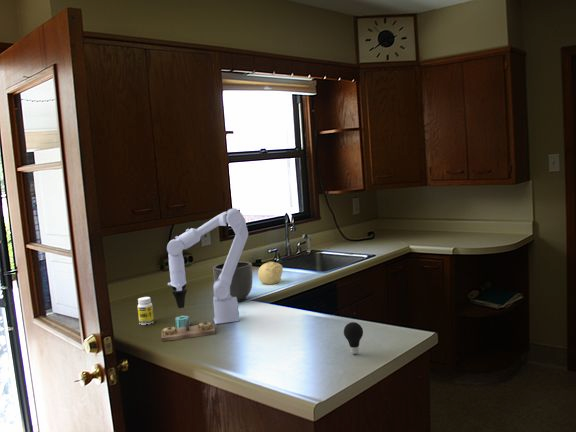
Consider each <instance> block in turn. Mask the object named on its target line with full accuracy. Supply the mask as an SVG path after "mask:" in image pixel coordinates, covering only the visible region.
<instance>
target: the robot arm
mask: <svg viewBox="0 0 576 432" xmlns="http://www.w3.org/2000/svg"><path fill="white" fill-rule="evenodd" d="M227 225H229V226H230V227H231V228H232V230H233V232H234V234H235V236H234V238H233V241H232V243H231V246H230V249H229V252H228V253H227V256H226V259H225V261H224V263H225V264H224V267H223V269H222V272H221V274H220V276H219V278H218V280H217V281H215V282H213V285H212V288H213V289H212V290H213V295H214V296H213V297H212V302H213V312H214V317H213V322H214V324H215V325H220V324H227V323H232V322H239V321H240V320H241V319H240V312H239V302H237V297H232V296H231V295H230V285H231V282H232V277H233V275H234V272H235V269H236V267H237V264H238V262H240V261H239V260H240V258H241V256H242V253H243V251H244V247H245V245H246V242H247V240H248V237H249V231H248V226H247V223H246V219H245V217H244V216H243V213H242V212H241V211H239V209H237V208H229V209H227V211H223V212H221V213H220V214H218V215H216V216H214V217H213V218H211V219H210V220H209V221H207V222H204V223H203V224H202V225H201V226H199V227H197V228H192V227H191V228H190V229H189V228H187V229H185V232H183V233H182V234H180V235H179V236H178V235H176V236H174V238H175V239H174V238H173V239H171V240H169V242H168V243H167V246H166V251H167V253H168V254H167V255H168V256H167V257H168V268H169V277H170V282H167V286H171V288H172V290H171V293H172V295H173V296H174V299H175V302H176V306H177V308H178V309H184V308H185V303H186V302H185V300H186V294H187V291H188V289H187V288H186V286H187V283H188V282H187V279H186V269H185V258H184V256H183V250H187V249H189V248H191V247H192V246H194V245H195V244H197V243H199V242H200V241H201V238H202V237H203V236H204V235H205V234H207V233H209V232H211V231H212V230H214V229H215V228H217V227H219V226H221V227H222V226H223V227H227Z"/></svg>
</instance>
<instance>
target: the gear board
mask: <svg viewBox="0 0 576 432" xmlns="http://www.w3.org/2000/svg"><path fill="white" fill-rule="evenodd" d="M185 324H186V327H180V328H177V327H176V326H167V327H164V328H163V329H161V334H160V335H161V342H168V341H175V340H182V339H188V338H196V337H202V336H208V335H214V334H216V329H215V326H214V323H213V322H212V321H203V322H199V324H196V325H189V321H188V320H186V321H185Z"/></svg>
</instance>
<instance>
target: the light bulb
mask: <svg viewBox="0 0 576 432" xmlns="http://www.w3.org/2000/svg"><path fill="white" fill-rule="evenodd" d="M363 335H364V330H363V327H362V326H361V324H360V323H358V322H354V321H352V322H349V323H347V324H346V325H345V326H344V328H343V336H344V338H345V339H346V340H347V342H348V345H349V347H350V353H351V354H352V355H357V354H358V353H359V352H360V350H359V346H360V341H361V339H362V337H363Z"/></svg>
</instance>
